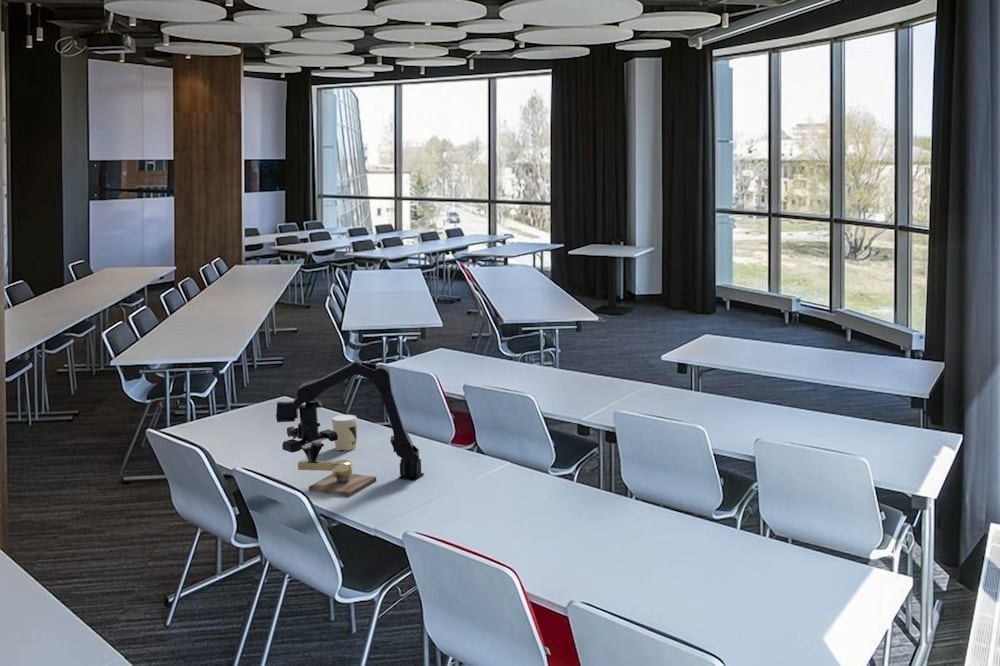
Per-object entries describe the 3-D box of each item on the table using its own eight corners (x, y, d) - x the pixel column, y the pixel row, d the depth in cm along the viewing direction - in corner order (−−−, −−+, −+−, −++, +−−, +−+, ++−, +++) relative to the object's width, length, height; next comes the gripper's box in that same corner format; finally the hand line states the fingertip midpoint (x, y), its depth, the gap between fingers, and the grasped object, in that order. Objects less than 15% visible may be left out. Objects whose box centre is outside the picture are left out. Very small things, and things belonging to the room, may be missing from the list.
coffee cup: (356, 451, 344) (354, 420, 342) (331, 452, 344) (329, 421, 342) (360, 444, 353) (358, 414, 351) (336, 444, 353) (334, 414, 351)
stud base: (376, 481, 311) (375, 470, 310) (349, 496, 296) (349, 485, 296) (336, 475, 317) (336, 465, 317) (308, 490, 303) (308, 480, 302)
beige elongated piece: (354, 471, 309) (354, 460, 308) (348, 477, 302) (347, 466, 302) (303, 470, 312) (302, 458, 311) (296, 476, 305) (295, 464, 305)
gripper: (318, 410, 319) (321, 453, 322) (271, 422, 306) (275, 467, 309) (337, 415, 312) (340, 460, 315) (290, 428, 299) (293, 474, 302)
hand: (312, 465), depth 310 cm, fingers closed
